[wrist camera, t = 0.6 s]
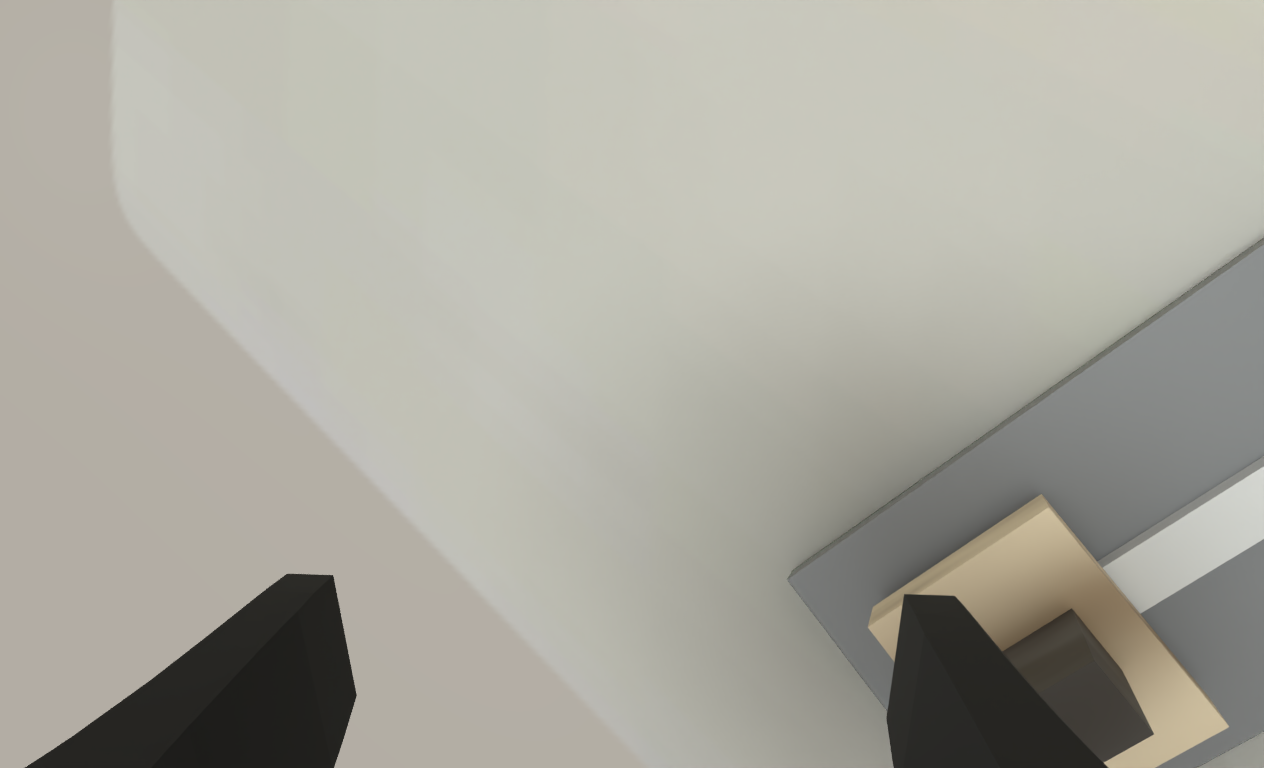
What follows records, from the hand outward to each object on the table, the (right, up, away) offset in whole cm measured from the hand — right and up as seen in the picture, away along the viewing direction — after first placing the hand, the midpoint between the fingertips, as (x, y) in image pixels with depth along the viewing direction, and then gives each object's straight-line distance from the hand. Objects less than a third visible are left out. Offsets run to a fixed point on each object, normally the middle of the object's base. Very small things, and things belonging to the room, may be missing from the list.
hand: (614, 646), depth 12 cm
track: (+16, -2, +16) cm, 23 cm away
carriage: (+12, -4, +15) cm, 20 cm away
